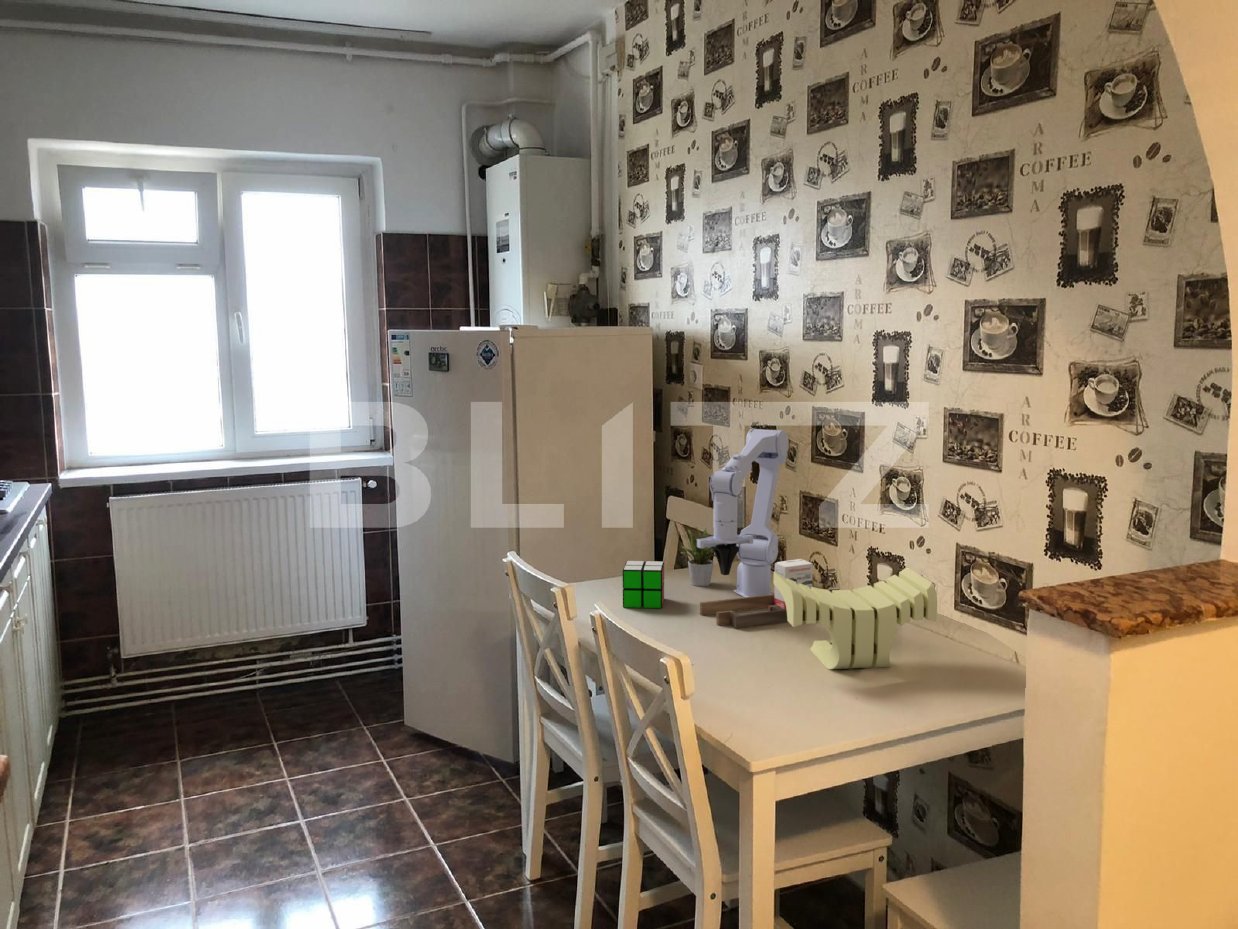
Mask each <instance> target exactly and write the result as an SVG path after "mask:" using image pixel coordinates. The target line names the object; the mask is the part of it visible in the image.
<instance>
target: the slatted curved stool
mask: <svg viewBox="0 0 1238 929" xmlns="http://www.w3.org/2000/svg"><path fill="white" fill-rule="evenodd" d="M885 581H886V582H885ZM885 581H884V580H880V581H877V582H874V583H873V586H872V585H870V584H869V585H865V586H862V587H858V588H853V589H852V591H851V590H850V589H839V590H838V589H832V590H831V591H830V590H829V589H824V588H818V587H813V586H812V587H811V589H810V588H809V587H808V586H806V585H803V584H800V583H799V585H798V584H797V583H796V582H795V581H792V580H790V579H788V578H786V579H785V578H784V577H783V576H781V575H780V574H778V573H776V572H775V571H773V585H774V587H775V586H776V587H777V589H778V590H779V591H780V593H781V594H782V596H783V598H784V601H785V604H786V609H787V621H788V622H787V623H788V624H790V625H791V626H792V627H793V628H795V627H798V626H801V625H803V622H804V623H806V624H807V625H808V624H817V623H818V624H820V625H821V626H824V627H826V630H827V631H828V634H829V637H830V642H829V641H828V640H825V639H824V640H814V641H813V643H812V645H811V647H810V649H809V650H810V651H811V652H812V653H813V655H814V656H815V657H816V658H818V660H819V661H820V662H821V663H822V664H823V665H824V667H826V669H827V670H841V669H842V670H844V669H845V670H846V669H848V668H849V669H863V668H864V669H865V668H868V669H869V668H889V667H891V665H890V663H891V662H890V657H891V655H890V654H891V648H892V645H893V641H894V639H895V636H896V635H897V634H896V633H897V624H898V625H899V626H903V625H904V624H907V623H909V622H910V621H911V620H912V619H913V620H914V621H916V620H917V621H919V620H920V621H921V620H922V621H923V620H924V619H925V620H927V621H931V622H935V623H937V618H938V597H937V596H938V595H937V591H936V588H935V584H933V583H932V581H931V580H929V579H927V578H926V577H924V576H923V575H921V574H919V573H918V572H916V571H914V570H912V569H911V568H909V567H906V568H904V569H902V570H901V571H899V572H898V575H896V574H893V575H891V576H889V577H887V578H886V580H885Z"/></svg>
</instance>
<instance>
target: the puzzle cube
mask: <svg viewBox="0 0 1238 929" xmlns="http://www.w3.org/2000/svg"><path fill="white" fill-rule="evenodd" d="M664 600H665V562H664V561H657V560H655V561H649V560H648V561H644V560H643V561H642V560H626V561H625V564H624V566H623V569H622V607H623V609H652V610H654V609H658V610H661V609H662V608H663V605H664Z"/></svg>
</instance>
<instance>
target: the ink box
mask: <svg viewBox="0 0 1238 929" xmlns="http://www.w3.org/2000/svg"><path fill="white" fill-rule="evenodd" d="M813 569H814V563H812V562H810V561H808V560H805V559H803V558H797V559H789V560H783V561H777V562H775V563H774V572H776V573H778V574H780V575H781V576H783V577H784V578H785V579H786V578H788V579H790V580H792V581H795V582H796V583H797V584H798V585H799V583H800V584H803V585H806V586H808V587H809V588H810V589H811V587H813V576H814V575H813V573H814V572H813V571H814V570H813ZM773 592H774V593H773V594H774V605H779V607H780V608H782V609H786V604H785V601H784V598H783V596H782V594H781V593H780V591H779V590H778V589H777V587H776V586H775V585H774V591H773Z"/></svg>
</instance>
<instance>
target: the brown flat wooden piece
mask: <svg viewBox="0 0 1238 929" xmlns="http://www.w3.org/2000/svg"><path fill="white" fill-rule="evenodd" d="M764 608H765V609H766V608H767V609H768V610H767V611H761V612H759V611H758V612H752V613H743V614H738V612H740V611H742V612H743V611H748V610H756V609H764ZM736 612H737V613H736ZM699 615H701V616H707V615H716V625H717V626H724V625H726V626H727V625H730V626H732V627H733V629H734V630H739V629H747V628H753V627H754V628H755V627H762V626H768V625H769V626H770V625H776V624H785V623H789V622H788V621H787V609H782V608H780V607H779V605H774V593H772V594H769V595H760V596H751V597H743V596H742V597H735V598H725V599H717V600H710V601H702V602H699Z"/></svg>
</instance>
